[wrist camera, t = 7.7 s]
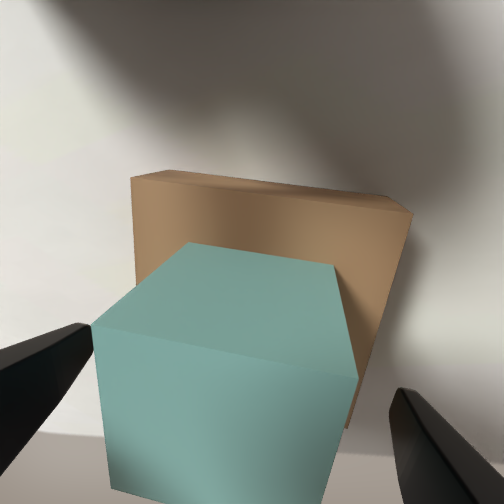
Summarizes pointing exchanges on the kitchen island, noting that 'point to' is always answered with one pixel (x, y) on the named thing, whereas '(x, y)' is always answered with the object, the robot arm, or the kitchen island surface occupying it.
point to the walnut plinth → (279, 235)
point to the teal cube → (225, 379)
